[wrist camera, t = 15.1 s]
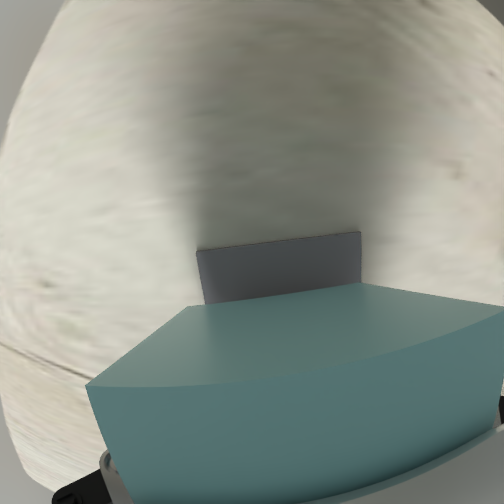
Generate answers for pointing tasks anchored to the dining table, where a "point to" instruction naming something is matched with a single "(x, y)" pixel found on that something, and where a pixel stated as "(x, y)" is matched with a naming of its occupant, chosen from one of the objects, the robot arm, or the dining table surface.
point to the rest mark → (279, 267)
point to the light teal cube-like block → (299, 394)
